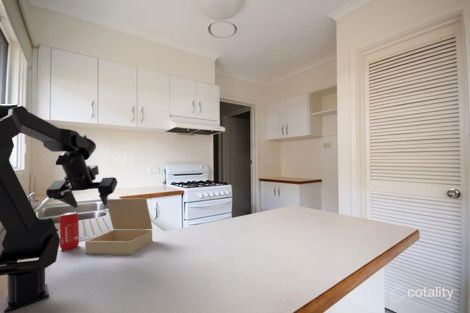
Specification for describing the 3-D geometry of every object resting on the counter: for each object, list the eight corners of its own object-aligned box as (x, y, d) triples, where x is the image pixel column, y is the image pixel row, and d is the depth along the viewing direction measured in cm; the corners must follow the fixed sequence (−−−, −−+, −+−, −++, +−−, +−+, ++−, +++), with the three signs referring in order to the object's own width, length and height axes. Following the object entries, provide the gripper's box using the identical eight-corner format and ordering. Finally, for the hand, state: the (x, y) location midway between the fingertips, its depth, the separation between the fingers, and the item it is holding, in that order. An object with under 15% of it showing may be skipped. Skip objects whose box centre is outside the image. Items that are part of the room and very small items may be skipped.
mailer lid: (145, 198, 74) (146, 198, 74) (105, 199, 77) (106, 199, 77) (151, 229, 77) (152, 228, 77) (113, 229, 80) (114, 228, 80)
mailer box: (130, 255, 65) (129, 242, 65) (85, 254, 68) (85, 241, 68) (152, 241, 76) (152, 229, 77) (113, 240, 79) (113, 229, 80)
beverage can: (68, 251, 71) (67, 215, 71) (56, 251, 72) (55, 215, 72) (82, 245, 76) (81, 211, 76) (70, 245, 77) (70, 211, 77)
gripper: (116, 154, 74) (126, 188, 82) (55, 156, 70) (71, 192, 78) (105, 173, 64) (118, 209, 73) (35, 177, 61) (56, 215, 69)
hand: (91, 205), depth 73 cm, fingers open, 9 cm apart
